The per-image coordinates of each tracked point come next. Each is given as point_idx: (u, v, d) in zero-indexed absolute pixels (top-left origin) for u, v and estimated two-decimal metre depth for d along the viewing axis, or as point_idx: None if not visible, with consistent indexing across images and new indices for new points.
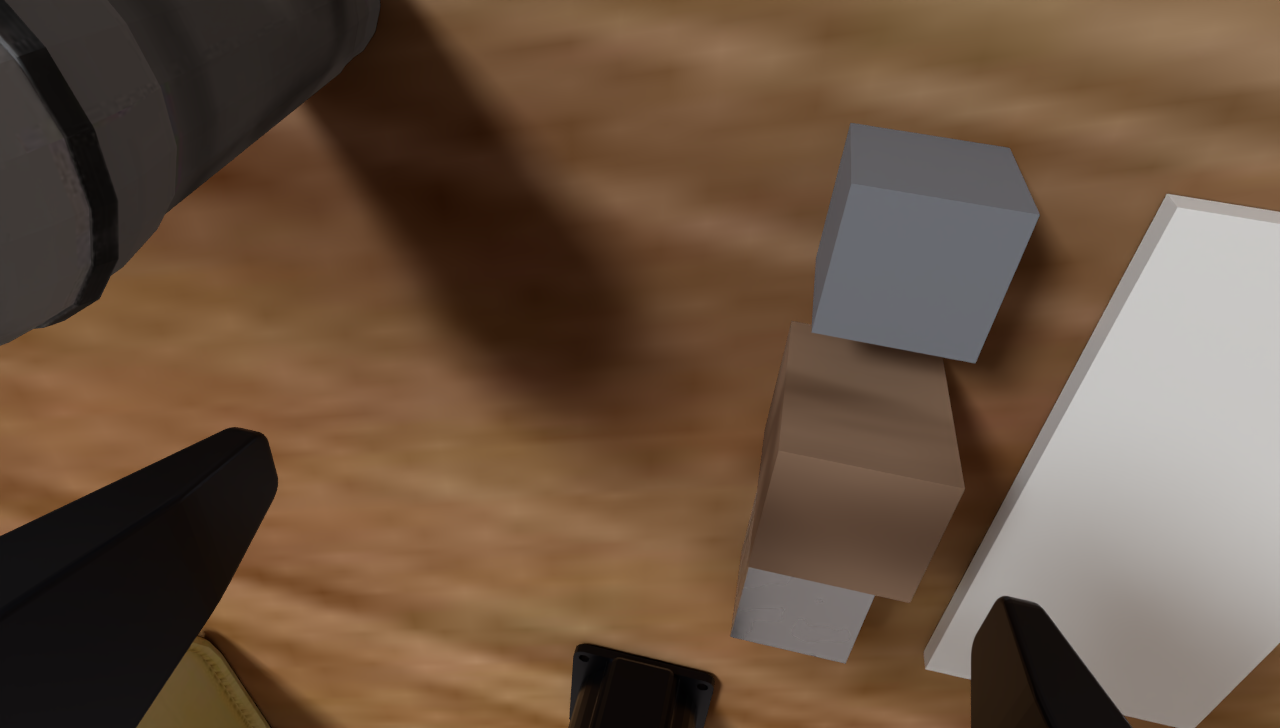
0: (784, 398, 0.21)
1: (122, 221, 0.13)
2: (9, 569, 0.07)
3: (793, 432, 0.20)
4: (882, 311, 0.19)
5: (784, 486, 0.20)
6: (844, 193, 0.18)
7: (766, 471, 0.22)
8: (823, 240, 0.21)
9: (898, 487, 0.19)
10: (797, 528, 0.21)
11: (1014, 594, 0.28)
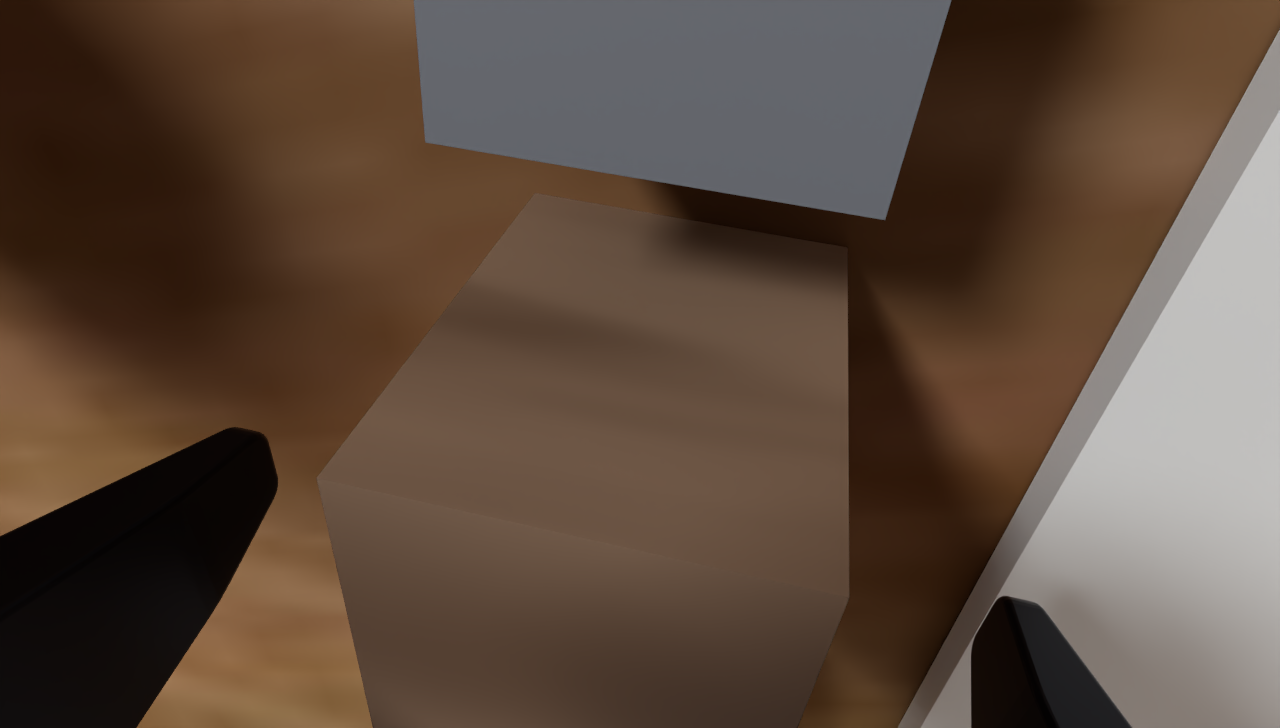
0: (424, 341, 0.08)
1: None
2: (9, 569, 0.07)
3: (395, 426, 0.07)
4: (596, 54, 0.06)
5: (373, 574, 0.07)
6: None
7: None
8: None
9: (660, 588, 0.07)
10: (445, 673, 0.08)
11: None
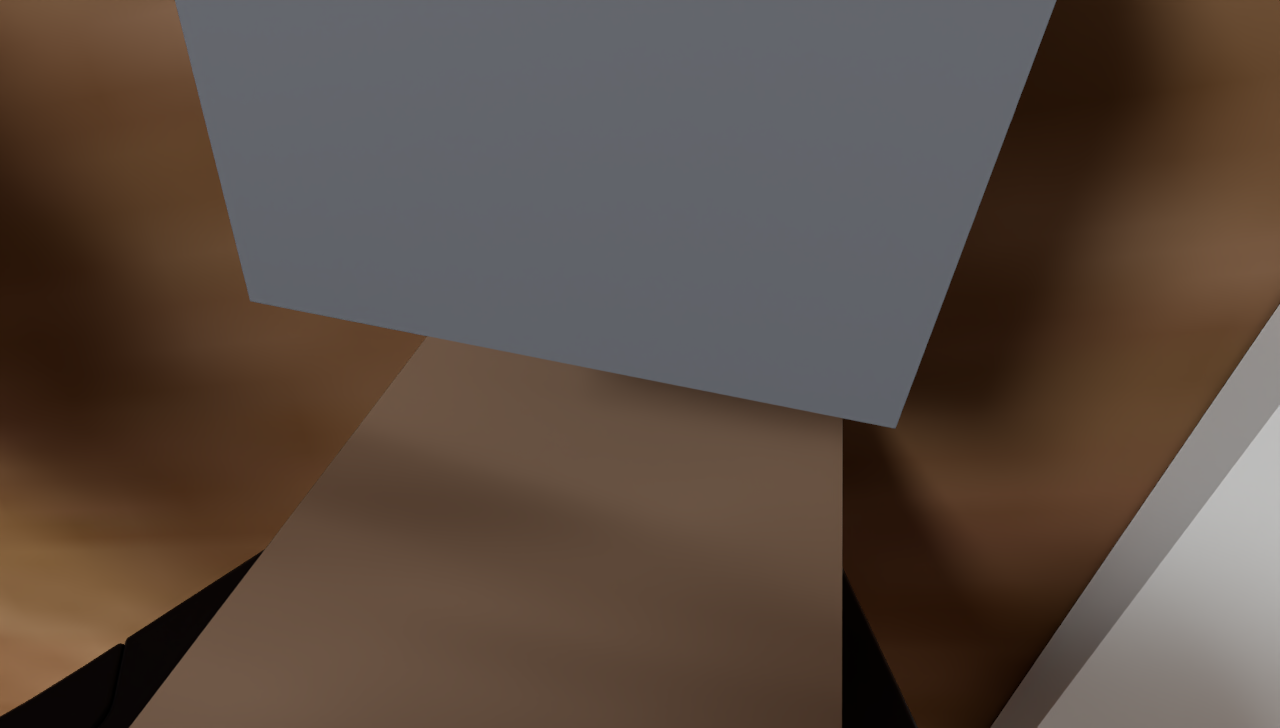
0: (283, 531, 0.06)
1: None
2: None
3: (211, 690, 0.05)
4: (471, 199, 0.04)
5: None
6: None
7: None
8: None
9: None
10: None
11: None
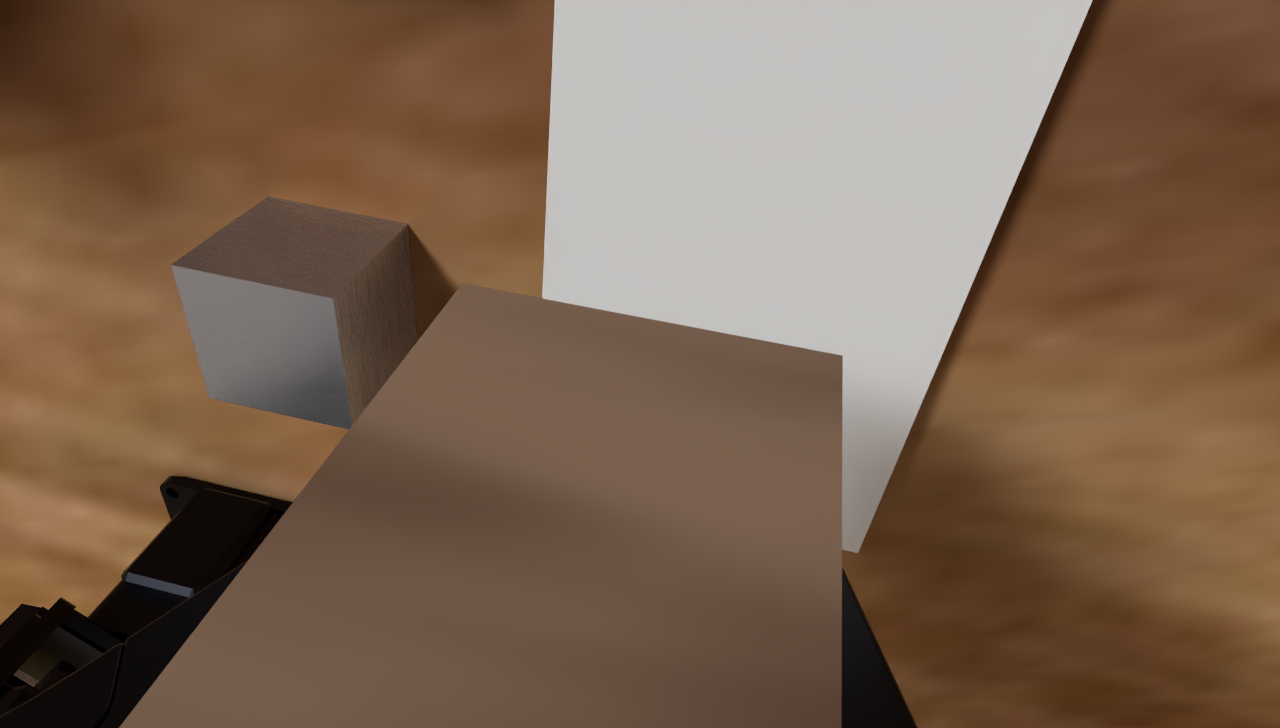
0: (280, 525, 0.06)
1: None
2: None
3: (206, 685, 0.05)
4: None
5: None
6: None
7: None
8: None
9: None
10: None
11: None
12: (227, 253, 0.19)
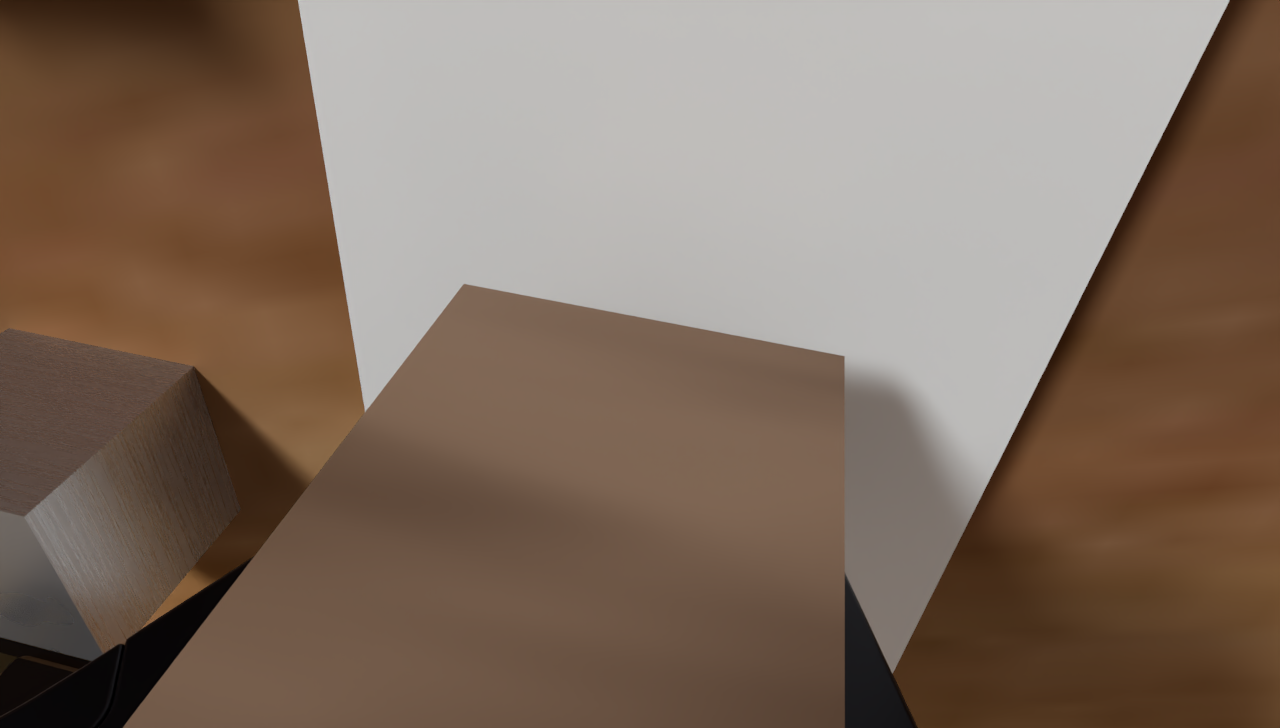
0: (282, 526, 0.06)
1: None
2: None
3: (210, 685, 0.05)
4: None
5: None
6: None
7: None
8: None
9: None
10: None
11: None
12: None
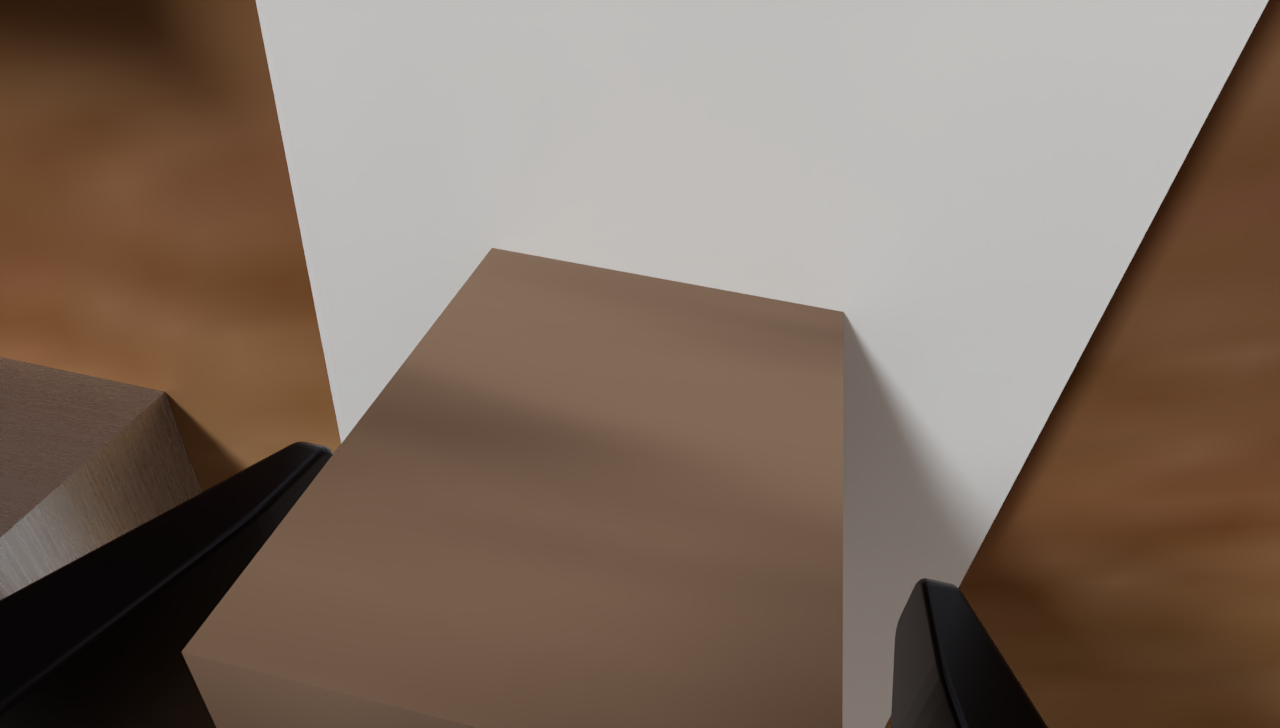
0: (341, 449, 0.07)
1: None
2: (95, 591, 0.07)
3: (290, 572, 0.06)
4: None
5: None
6: None
7: None
8: None
9: None
10: None
11: None
12: None
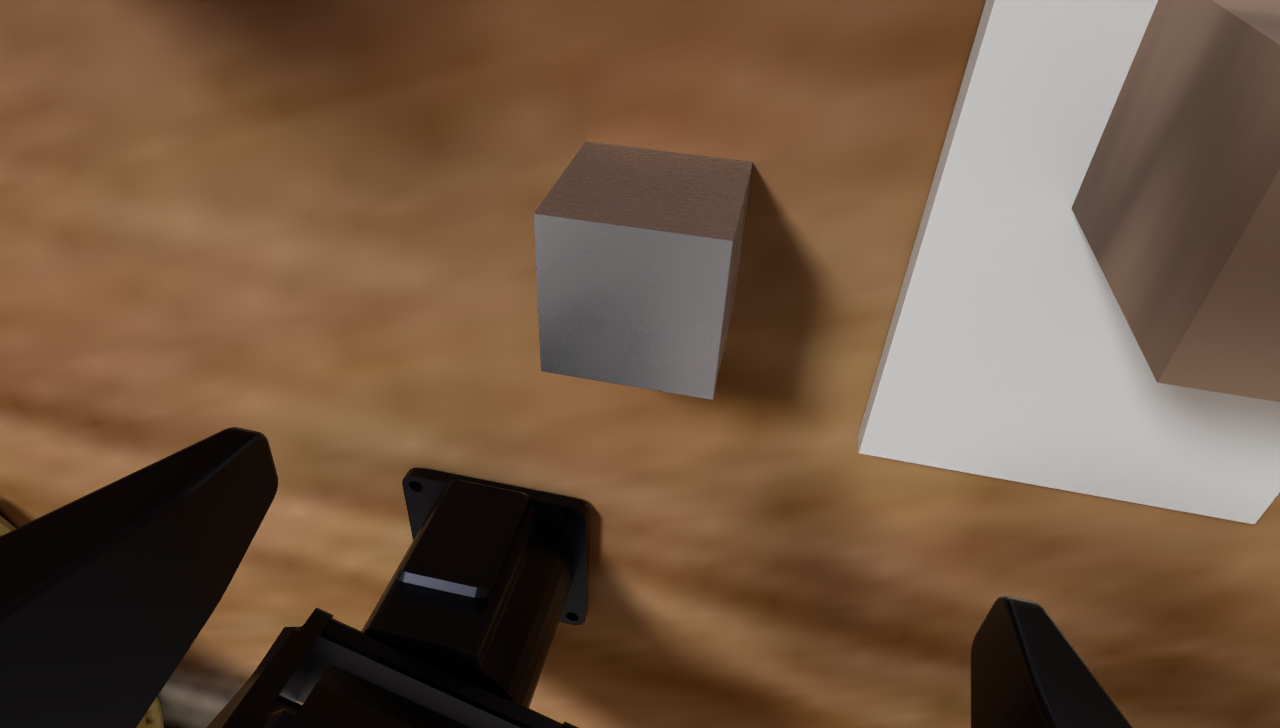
0: (1258, 32, 0.11)
1: None
2: (9, 569, 0.07)
3: None
4: None
5: None
6: None
7: (1187, 203, 0.12)
8: None
9: None
10: None
11: (974, 297, 0.18)
12: (585, 200, 0.16)
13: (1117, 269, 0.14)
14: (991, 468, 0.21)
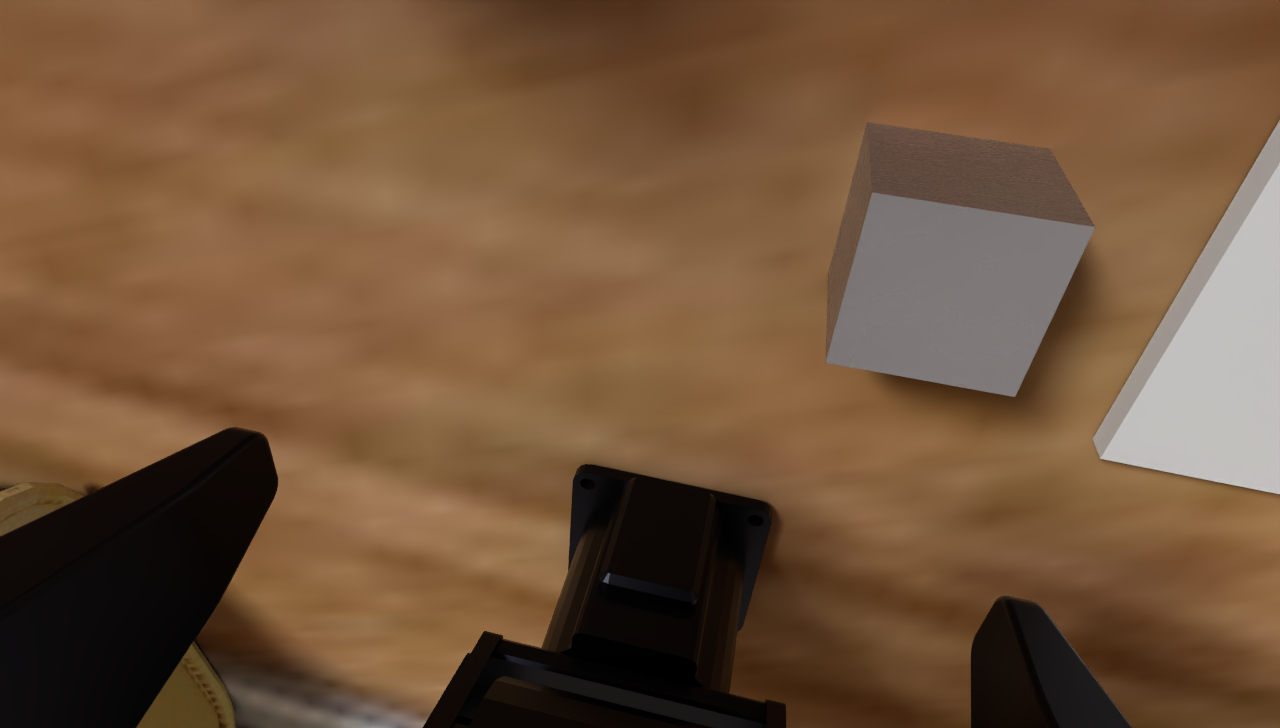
0: None
1: None
2: (9, 569, 0.07)
3: None
4: None
5: None
6: None
7: None
8: None
9: None
10: None
11: (1276, 298, 0.17)
12: (913, 180, 0.15)
13: None
14: (1243, 477, 0.20)
